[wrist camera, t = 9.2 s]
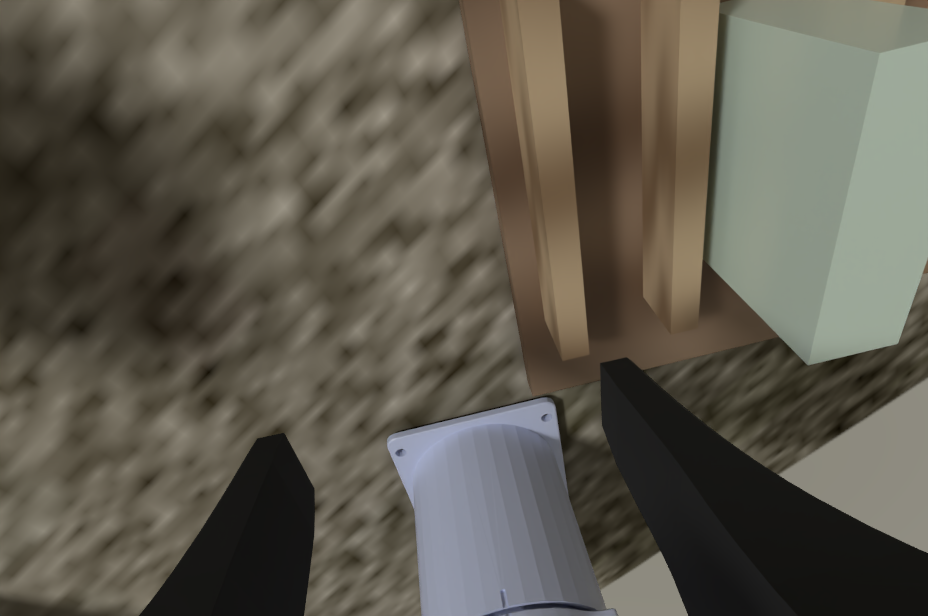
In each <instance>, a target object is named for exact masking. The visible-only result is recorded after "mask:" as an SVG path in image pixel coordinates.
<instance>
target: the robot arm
mask: <svg viewBox="0 0 928 616" xmlns="http://www.w3.org/2000/svg"><path fill="white" fill-rule="evenodd" d="M600 379H601V407H602V426H603V429H604V432H605V434H606V437H607V440H608V443H609V445H610V448H611V451H612V453H613V456H614V459H615V461H616V464H617V466H618V468H619V470H620V472H621V474H622V476H623V478H624V480H625V482H626V484H627V486H628V488H629V490H630V492H631V494H632V496H633V498H634V500H635V502H636V504H637V506H638V508H639V510H640V512H641V514H642V516H643V518H644V519H645V521H646V523H647V525H648V527H649V529H650V531H651V533H652V535H653V537H654V539H655V541H656V543H657V545H658V547H659V549H660V551H661V553H662V554H663V556H664V559H665V561H666V563H667V565H668V567H669V569H670V571H671V574H672V576H673V578H674V581H675V583H676V586H677V588H678V591H679V593H680V596H681V598H682V601H683V603H684V606H685V608H686V611H687V613H688V616H928V553H926V552H924V551H921V550H919V549H917V548H915V547H912V546H910V545H908V544H906V543H904V542H902V541H900V540H898V539H895V538H893V537H891V536H889V535H887V534H885V533H883V532H881V531H879V530H877V529H874V528H872V527H870V526H868V525H866V524H864V523H863V522H861V521H859V520H857V519H855V518H853V517H851V516H849V515H848V514H846V513H844V512H842V511H840V510H838V509H836V508H834V507H832V506H831V505H829V504H827V503H825V502H823V501H821V500H819V499H817V498H816V497H814V496H812V495H810V494H808V493H807V492H805V491H803V490H802V489H800V488H799V487H797V486H795V485H793V484H792V483H790V482H788V481H787V480H785V479H784V478H782V477H780V476H779V475H777V474H776V473H774V472H772V471H771V470H769V469H768V468H766V467H765V466H763V465H761V464H760V463H759V462H757V461H756V460H754V459H753V458H751V457H750V456H748V455H747V454H745V453H744V452H742V451H741V450H739V449H738V448H737V447H735V446H734V445H733V444H731V443H730V442H728V441H727V440H726V439H724V438H723V437H722V436H720V435H719V434H718V433H716V432H715V431H714V430H712V429H711V428H710V427H708V426H707V425H706V424H704V423H703V422H702V421H701V420H700V419H698V418H697V417H696V416H695V415H693V414H692V413H691V412H690V411H688V410H687V409H686V408H685V407H683V406H682V405H681V404H680V403H679V402H677V401H676V400H675V399H674V398H673V397H671V396H670V395H669V394H668V393H667V392H666V391H665V390H663V389H662V388H661V387H660V386H659V385H658V384H657V383H655V382H654V381H653V380H652V379H651V378H650V377H649V376H648V375H647V374H646V373H644V372H643V371H642V370H641V369H640V368H639V367H638V366H637V365H636V364H635V363H634V362H633V361H632V360H630V359H629V358H627V357H625V358H621V359H616V360H612V361H607V362H603V363H600ZM545 414H547V415H545ZM543 415H545V416H543ZM387 446H388V450H389V452H390V454H391V457H392V459H393V461H394V464H395V466H396V468H397V470H398V473H399V475H400V477H401V480H402V482H403V484H404V487H405V489H406V491H407V494H408V496H409V498H410V501H411V503H412V505H413V507H414V510H415V524H416V539H417V554H418V569H419V584H420V599H421V614H422V616H618V614H617V611H616V610H615V609H613V608H612V609H606V606H605V603H604V600H603V597H602V594H601V591H600V588H599V585H598V582H597V579H596V577H595V574H594V571H593V568H592V565H591V562H590V559H589V556H588V553H587V550H586V547H585V544H584V541H583V538H582V535H581V532H580V529H579V526H578V523H577V520H576V517H575V514H574V512H573V509H572V506H571V503H570V500H569V495H568V488H567V481H566V475H565V468H564V461H563V454H562V447H561V440H560V433H559V426H558V419H557V413H556V407H555V404H554V402H553V400H552V399H551V398H547V397H544V398H539V399H535V400H531V401H526V402H522V403H518V404H514V405H510V406H506V407H502V408H497V409H493V410H489V411H485V412H481V413H477V414H473V415H469V416H464V417H460V418H456V419H452V420H448V421H444V422H440V423H435V424H431V425H427V426H423V427H419V428H415V429H411V430H406V431H402V432H398V433H395V434H392V435H390V436H389V437H388V439H387ZM399 449H403V450H399ZM314 520H315V499H314V487H313V485H312V484H311V482H310V480H309V478H308V476H307V474H306V472H305V471H304V469H303V467H302V465H301V463H300V461H299V460H298V458H297V456H296V454H295V452H294V450H293V448H292V447H291V445H290V443H289V441H288V439H287V437H286V435H285V434H284V433H281V434H276V435H272V436H267V437H263V438H258V439H257V440H256V442H255V443H254V445H253V446H252V448H251V449H250V451H249V453H248V454H247V456H246V458H245V459H244V461H243V463H242V464H241V466H240V468H239V469H238V471H237V473H236V474H235V476H234V478H233V479H232V481H231V483H230V484H229V486H228V488H227V489H226V491H225V493H224V494H223V496H222V498H221V499H220V501H219V502H218V504H217V506H216V507H215V509H214V510H213V512H212V513H211V515H210V517H209V518H208V520H207V521H206V523H205V525H204V526H203V528H202V529H201V531H200V532H199V534H198V535H197V537H196V538H195V540H194V541H193V543H192V544H191V546H190V547H189V549H188V550H187V551H186V553H185V554H184V556H183V557H182V559H181V560H180V562H179V563H178V565H177V566H176V567H175V569H174V570H173V572H172V573H171V575H170V576H169V577H168V579H167V580H166V581H165V583H164V584H163V585H162V587H161V588H160V590H159V591H158V592H157V594H156V595H155V596H154V597H153V599H152V600H151V601H150V603H149V604H148V605H147V606H146V608H145V609H144V610H143V611H142V613H141V614H140V615H139V616H304V610H305V603H306V595H307V588H308V580H309V573H310V565H311V557H312V549H313V540H314Z"/></svg>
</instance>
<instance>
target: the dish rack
mask: <svg viewBox="0 0 928 616" xmlns="http://www.w3.org/2000/svg"><path fill="white" fill-rule="evenodd" d="M726 1H730V0H459V4H460V10H461V15H462V21H463V26H464V32H465V37H466V43H467V48H468V54H469V59H470V65H471V70H472V76H473V81H474V87H475V92H476V98H477V103H478V109H479V115H480V120H481V126H482V131H483V137H484V142H485V148H486V153H487V159H488V164H489V170H490V175H491V181H492V186H493V192H494V197H495V203H496V208H497V214H498V219H499V225H500V230H501V236H502V241H503V247H504V253H505V258H506V264H507V269H508V275H509V280H510V286H511V291H512V297H513V302H514V308H515V313H516V319H517V324H518V330H519V335H520V341H521V346H522V352H523V357H524V363H525V368H526V374H527V379H528V383H529V386H530V389H531V392H532V395H533V396H537V395H541V394H545V393H549V392H554V391H558V390H562V389H566V388H570V387H574V386H578V385H583V384H587V383H591V382H595V381H599V380H601V379H600V363H603V362H607V361H612V360H616V359H621V358H625V357H627V358H629V359H630V360H632V361H633V362H634V363H635V364H636V365H637V366H638V367H639V368H640V369H641V370H645V369H649V368H653V367H657V366H661V365H665V364H669V363H674V362H678V361H682V360H686V359H690V358H694V357H698V356H703V355H707V354H711V353H715V352H719V351H723V350H727V349H732V348H736V347H740V346H744V345H748V344H752V343H756V342H760V341H765V340H769V339H773V338H777V337H779V336H778V335H777V334H776V333H775V332H774V331H773V330H772V329H771V328H770V327H769V325H768V324H767V323H766V322H765V321H764V320H763V319H762V318H761V317H760V316H759V315H758V314H757V313H756V312H755V311H754V310H753V309H752V308H751V307H750V306H749V305H748V304H747V303H746V302H745V301H744V300H743V299H742V298H741V297H740V296H739V295H738V294H737V293H736V292H735V291H734V290H733V289H732V288H731V287H730V286H729V285H728V284H727V283H726V282H725V281H724V280H723V279H722V278H721V277H720V276H719V275H718V274H717V273H716V272H715V271H714V270H713V269H712V268H711V267H710V266H709V265H708V264H707V263H706V262H705V261H704V260H703V245H704V230H705V215H706V200H707V185H708V170H709V155H710V140H711V125H712V110H713V95H714V80H715V66H716V51H717V36H718V21H719V6H720V3H722V2H726ZM873 1H879V2H886V3H893V4H899V5H906V6H913V7H920V8H926V9H928V0H873ZM924 273H928V259H927V262H926V265H925V268H924V271H923V273H922V274H924Z"/></svg>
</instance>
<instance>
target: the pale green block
mask: <svg viewBox="0 0 928 616" xmlns="http://www.w3.org/2000/svg"><path fill="white" fill-rule="evenodd" d="M927 259H928V9H926V8H920V7H913V6H906V5H899V4H893V3H886V2H879V1H873V0H730V1H726V2H722V3H720V6H719V21H718V36H717V51H716V66H715V80H714V95H713V110H712V125H711V140H710V155H709V170H708V185H707V200H706V215H705V230H704V245H703V260H704V261H705V262H706V263H707V264H708V265H709V266H710V267H711V268H712V269H713V270H714V271H715V272H716V273H717V274H718V275H719V276H720V277H721V278H722V279H723V280H724V281H725V282H726V283H727V284H728V285H729V286H730V287H731V288H732V289H733V290H734V291H735V292H736V293H737V294H738V295H739V296H740V297H741V298H742V299H743V300H744V301H745V302H746V303H747V304H748V305H749V306H750V307H751V308H752V309H753V310H754V311H755V312H756V313H757V314H758V315H759V316H760V317H761V318H762V319H763V320H764V321H765V322H766V323H767V324H768V325H769V327H770V328H771V329H772V330H773V331H774V332H775V333H776V334H777V335H778V336H779V337H780V338H781V339H782V340H783V341H784V342H785V343H786V344H787V345H788V346H789V347H790V348H791V349H792V350H793V351H794V352H795V353H796V354H797V355H798V356H799V357H800V358H801V359H802V360H803V361H804V362H805V363H806V364H807V365H812V364H816V363H820V362H824V361H828V360H832V359H837V358H841V357H845V356H849V355H853V354H857V353H861V352H866V351H870V350H874V349H878V348H882V347H886V346H890V345H895V344H898V342H899V339H900V336H901V333H902V330H903V328H904V325H905V322H906V319H907V316H908V313H909V310H910V308H911V305H912V302H913V299H914V296H915V293H916V291H917V288H918V285H919V282H920V279H921V276H922V273H923V271H924V268H925V265H926V262H927Z"/></svg>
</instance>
